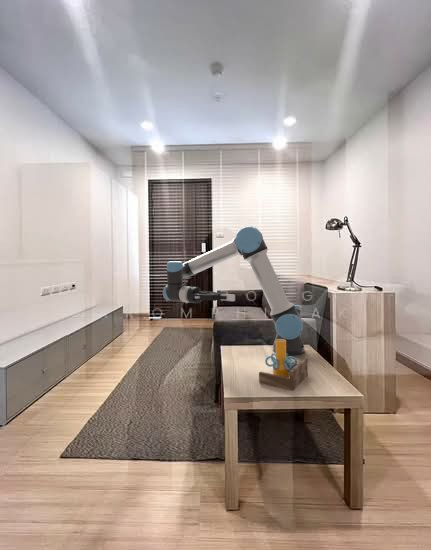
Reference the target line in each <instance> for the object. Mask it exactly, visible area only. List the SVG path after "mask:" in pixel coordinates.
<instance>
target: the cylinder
mask: <svg viewBox="0 0 431 550" xmlns="http://www.w3.org/2000/svg"><path fill="white" fill-rule="evenodd" d="M269 359H271V362H272V364H269V363H268V360H269ZM290 359H293V360H294V362H292V361H291V360H290ZM264 362H265V365H266V366H268V367H271V368H272V370H273V371H272V374H274V375H279V376H283V377H288V378H289V370H291V369H292V367H293V366H295V365H296V364H298V361H297V358H296V357H295V356H294V355H287V353H286V340H285V339H276V352H273V353H271V355H269V356H267V357H266V358H265V360H264ZM288 362H289V363H290V364H288ZM292 363H294V364H293V365H292ZM288 366H289V367H290V368H289V367H288Z"/></svg>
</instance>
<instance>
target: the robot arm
mask: <svg viewBox="0 0 431 550" xmlns="http://www.w3.org/2000/svg"><path fill="white" fill-rule="evenodd" d="M268 251H269V248H268V247H267V245H266V242H265V240H264V236H263V233H261V231H260V230H259V229H258V228H257V227H256V226H252V225H247V226H244V227H242V228H240V229H239V230H238V231H237V232H236V234H235V237H234V238H233V239H232V240H231V241H229V242H226V243H225V244H223V245H221V246H218V247H216V248H214V249H212V250H210V251H207V252H205V253H203V254H201V255H199V256H197V257H194V258H192V259H190V260H188V261H185V262H182V261H181V260H180V261H176V260H174V261H168V262H167V263H166V278H167V284H166V285H165V286H164V287H163V290H162V295H163V298H164V300H166V301H170V302H181V303H185V304H188V303H190V304H191V303H192V304H198V303H200V301H215V302H217V303H220V302H221V301H226V302H236V294H234V293H232V294H230V293H224V291H221V292H218V291H212V290H210V291H206V290H202V289H201V288H200V287H199V286H190V285H189V286H186V285H184V279H188V278H190V277H191V276H193V275H196V274H198V273H200V272H203V271H205V270H206V269H207V270H208V269H209V268H211V267H214V266H216V265H219V264H221V263H223V262H225V261H227V260H229V259H232V258H234V257H236V256H242V258H243V260H244V261H246V262H248V263H249V265H250V267H251V269H252V271H253V273H254V276H255V278H256V280H257V281H258V284H259V286H260V288H261V289H262V292H263V295H264V297H265V299H266V301H267V303H268V305H269V307H270V313H269V315H270V317H271V320H272V321H273V324H274V327H275V332H276V336H275V339H274V341H273V344H272V349H273V351H274V352H273V353H276V339H285V340H286V353H287V355H288V356H297V355H302V354H303V353H305V346H304V342H303V340H302V336H301V335H302V331H303V329H304V328H303V327H304V323H303V320H302V318H301V317H302V316H301V314H302V313H301V312H302V310H301V305H299V304H294V303H292V302H290V301H289V299H288V297H287V295H286V293H285V291H284V289H283V286H282V284H281V282H280V280H279V278H278V276H277V274H276V272H275V269H274V267H273V265H272V263H271V260H270V258H269V257H268V254H267V253H268Z"/></svg>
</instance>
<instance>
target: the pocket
mask: <svg viewBox="0 0 431 550" xmlns="http://www.w3.org/2000/svg"><path fill="white" fill-rule="evenodd" d="M308 360H309V359H308V358H307V357H304V358H302V360H300V361H299V362H297V363H296V365H295V366H293V367H292V369H291V370H289V378H288V377H283V376H279V375H274V374H273V373H269V372H264V371H259V372H258V383H259V384H262V385H267V386H270V387H275V388H279V389H284V390H287V391H291V392H293V391H294V390H295V389H297V387H298V386H299V385H301V383H302V382H303V381H304V380H305V379H306V378H307V377H308V368H309V367H308V366H309V364H308V363H309V361H308ZM291 363H292V365H293V364H294V363H295V362H291ZM288 364H290V363H289V362H288ZM288 367H289V366H288ZM289 368H290V367H289Z"/></svg>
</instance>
